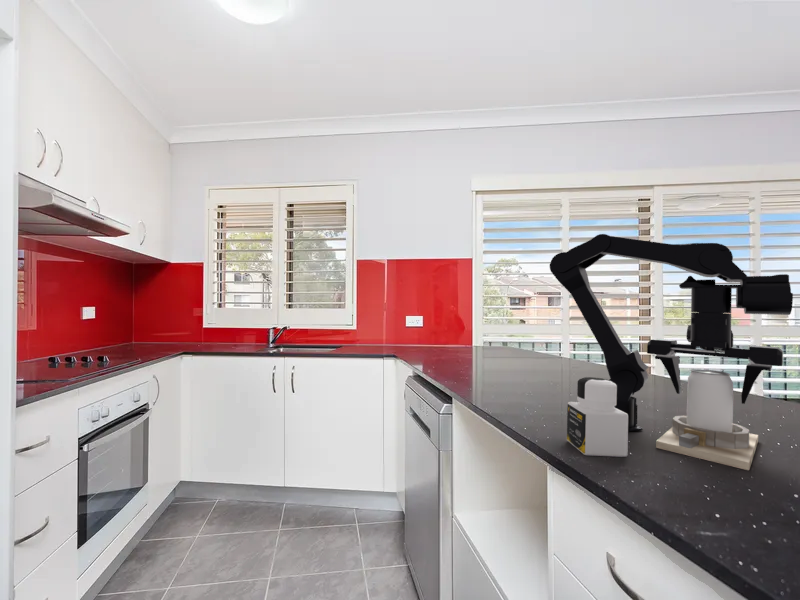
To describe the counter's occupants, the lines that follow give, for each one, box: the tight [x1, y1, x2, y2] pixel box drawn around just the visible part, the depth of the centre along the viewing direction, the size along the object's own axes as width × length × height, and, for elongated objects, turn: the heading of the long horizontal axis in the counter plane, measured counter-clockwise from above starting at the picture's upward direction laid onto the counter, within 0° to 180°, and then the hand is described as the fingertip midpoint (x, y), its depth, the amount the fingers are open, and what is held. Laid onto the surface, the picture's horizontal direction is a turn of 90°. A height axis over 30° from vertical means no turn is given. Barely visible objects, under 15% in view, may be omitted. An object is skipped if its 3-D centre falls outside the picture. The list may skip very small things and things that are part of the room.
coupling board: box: [655, 415, 759, 471], centre depth 69 cm, size 20×12×4 cm, turn 133°
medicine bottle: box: [566, 376, 629, 458], centre depth 65 cm, size 7×7×12 cm
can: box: [686, 368, 734, 432], centre depth 69 cm, size 6×6×12 cm
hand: (709, 398), depth 69 cm, fingers open, 9 cm apart
